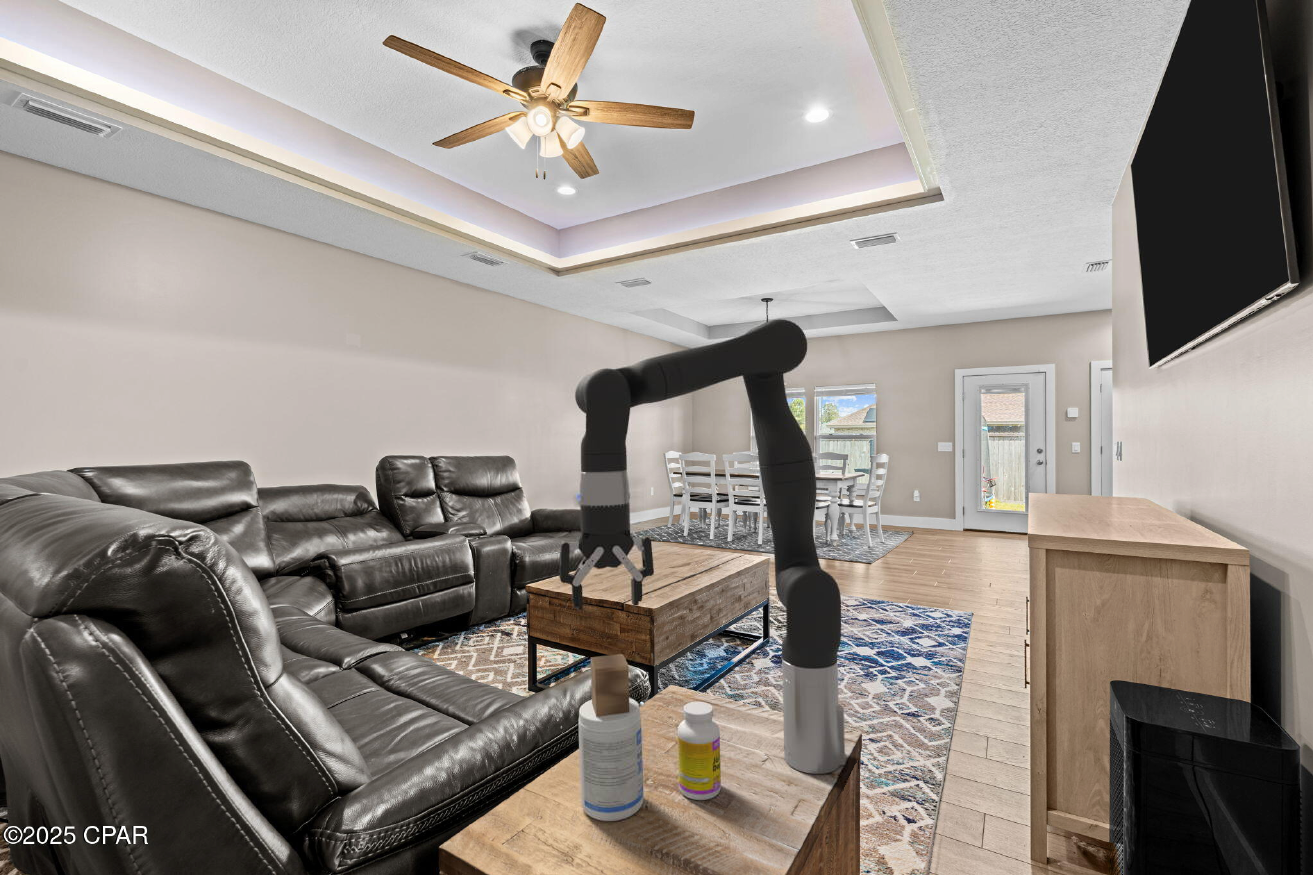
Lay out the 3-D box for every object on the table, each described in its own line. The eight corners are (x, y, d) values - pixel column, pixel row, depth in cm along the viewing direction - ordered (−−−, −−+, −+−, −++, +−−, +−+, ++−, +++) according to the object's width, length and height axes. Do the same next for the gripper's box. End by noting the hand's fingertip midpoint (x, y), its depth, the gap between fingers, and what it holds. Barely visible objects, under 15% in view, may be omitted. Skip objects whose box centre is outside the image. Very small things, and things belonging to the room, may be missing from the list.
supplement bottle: (719, 804, 90) (716, 718, 90) (675, 800, 91) (673, 715, 91) (723, 779, 96) (721, 700, 96) (682, 775, 98) (680, 697, 98)
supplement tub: (654, 811, 88) (652, 712, 89) (595, 832, 84) (593, 728, 84) (626, 779, 97) (624, 689, 97) (571, 797, 92) (569, 702, 93)
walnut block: (623, 698, 94) (622, 653, 94) (629, 712, 89) (628, 665, 89) (591, 702, 92) (590, 657, 93) (596, 716, 88) (594, 669, 88)
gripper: (645, 496, 96) (647, 597, 96) (556, 501, 93) (558, 604, 93) (655, 500, 89) (658, 609, 89) (559, 505, 86) (562, 618, 85)
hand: (607, 606), depth 91 cm, fingers open, 8 cm apart
